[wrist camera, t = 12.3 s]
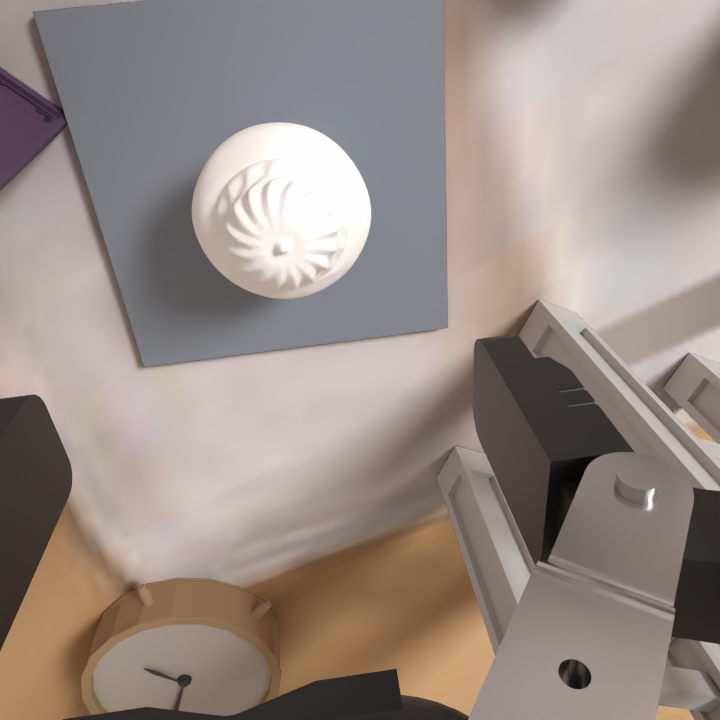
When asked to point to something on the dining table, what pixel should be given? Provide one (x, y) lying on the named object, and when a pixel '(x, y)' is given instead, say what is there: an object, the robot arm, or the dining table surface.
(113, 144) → the rubber mat
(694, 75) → the dining table surface
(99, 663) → the alarm clock
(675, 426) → the stool
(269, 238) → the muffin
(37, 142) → the game card
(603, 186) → the dining table surface
